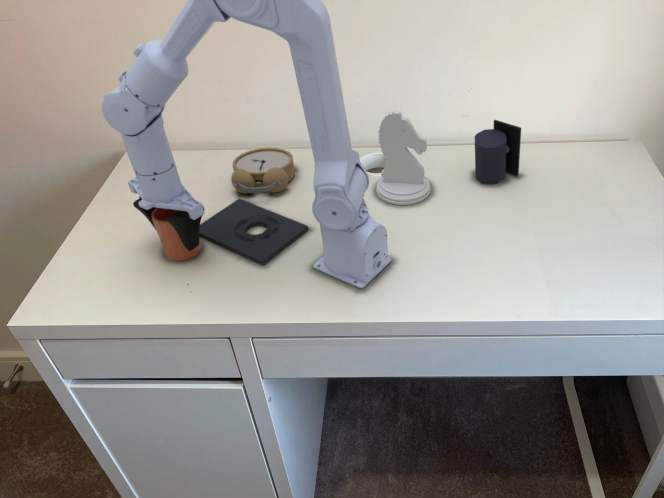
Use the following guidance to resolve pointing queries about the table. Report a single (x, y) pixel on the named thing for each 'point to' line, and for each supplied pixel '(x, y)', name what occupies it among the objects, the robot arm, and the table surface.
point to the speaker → (497, 152)
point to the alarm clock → (262, 170)
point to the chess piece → (401, 162)
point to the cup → (171, 236)
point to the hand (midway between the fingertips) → (180, 240)
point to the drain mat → (240, 217)
